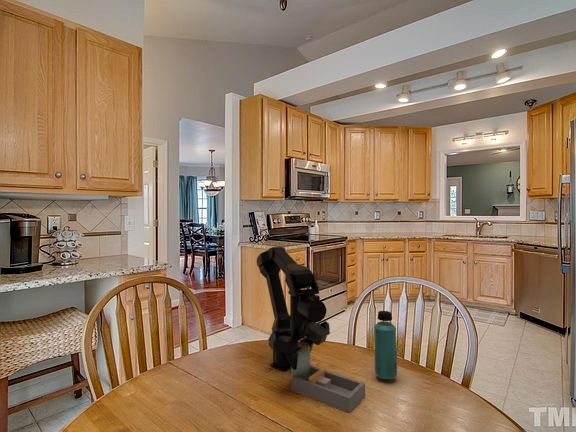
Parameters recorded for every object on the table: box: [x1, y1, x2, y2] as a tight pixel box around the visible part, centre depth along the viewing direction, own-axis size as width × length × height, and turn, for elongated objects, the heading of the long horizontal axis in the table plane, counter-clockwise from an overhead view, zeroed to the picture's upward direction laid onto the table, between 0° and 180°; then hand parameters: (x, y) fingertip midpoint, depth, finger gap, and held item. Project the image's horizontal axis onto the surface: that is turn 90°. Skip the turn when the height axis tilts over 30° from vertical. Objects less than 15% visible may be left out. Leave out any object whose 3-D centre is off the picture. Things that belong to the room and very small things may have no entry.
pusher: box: [309, 368, 331, 388], centre depth 91 cm, size 4×7×3 cm, turn 143°
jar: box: [290, 341, 311, 378], centre depth 95 cm, size 6×6×8 cm
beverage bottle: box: [373, 310, 398, 380], centre depth 97 cm, size 6×7×20 cm
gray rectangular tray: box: [290, 364, 366, 414], centre depth 90 cm, size 18×9×4 cm, turn 53°
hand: (300, 365), depth 95 cm, fingers closed on jar, 6 cm apart
